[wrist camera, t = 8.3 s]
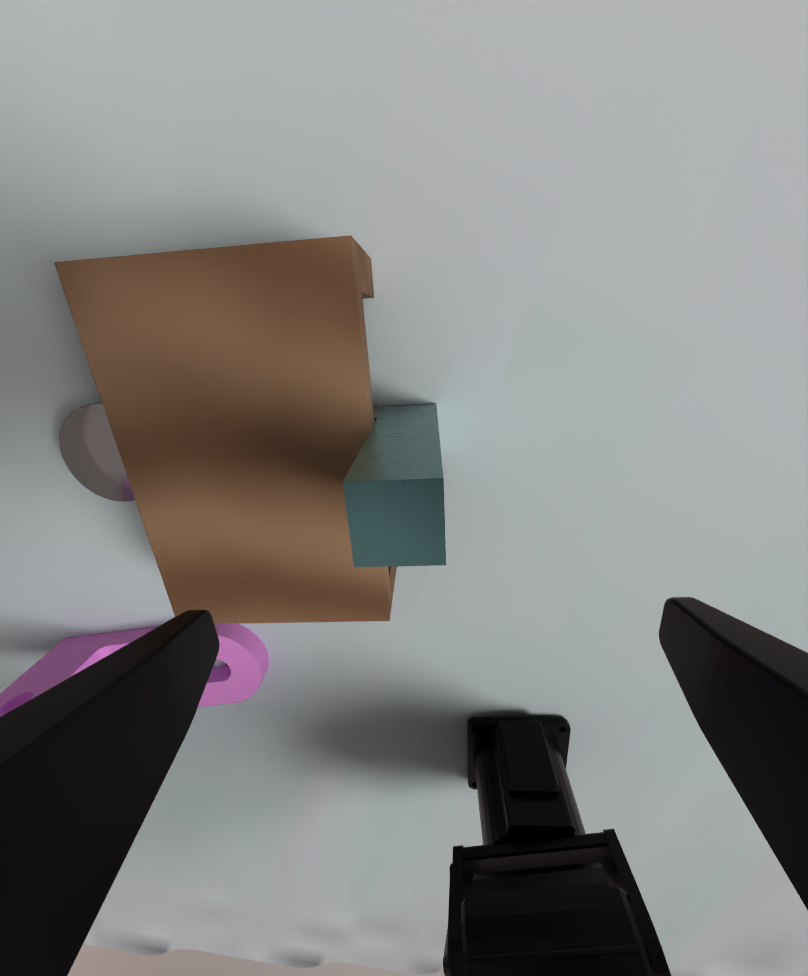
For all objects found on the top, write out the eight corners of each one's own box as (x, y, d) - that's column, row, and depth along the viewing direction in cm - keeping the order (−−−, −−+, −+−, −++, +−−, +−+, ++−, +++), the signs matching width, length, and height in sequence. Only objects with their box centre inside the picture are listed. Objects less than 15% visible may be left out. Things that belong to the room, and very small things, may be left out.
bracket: (105, 699, 28) (9, 810, 22) (65, 637, 26) (-52, 738, 20) (280, 680, 27) (233, 794, 20) (253, 613, 25) (190, 714, 18)
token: (186, 487, 22) (173, 496, 21) (101, 496, 22) (84, 505, 21) (154, 394, 20) (138, 398, 19) (62, 406, 21) (41, 411, 19)
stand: (397, 563, 23) (389, 620, 18) (224, 568, 23) (177, 624, 19) (370, 258, 17) (351, 235, 13) (145, 277, 18) (54, 262, 13)
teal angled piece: (437, 453, 20) (445, 565, 11) (173, 465, 21) (-24, 576, 12) (436, 403, 19) (443, 477, 10) (160, 418, 20) (-67, 498, 11)
